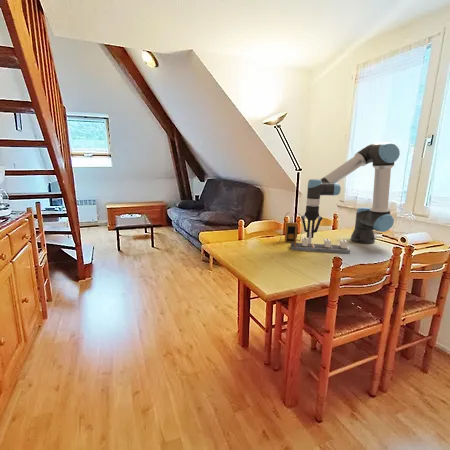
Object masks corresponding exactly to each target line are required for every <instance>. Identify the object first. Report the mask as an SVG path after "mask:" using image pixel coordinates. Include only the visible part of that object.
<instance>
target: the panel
mask: <svg viewBox="0 0 450 450" xmlns="http://www.w3.org/2000/svg"><path fill="white" fill-rule="evenodd" d="M290 248H291V251H298V252H299V251H300V252H317V253H334V254H351V249H350V248H349V247H348V246H347V249H346V248H341V247H340V244H331V246H330V248H329V247H325V246H324V243H323V244H322V243H311V244H309V243H308V246H302V242H290Z"/></svg>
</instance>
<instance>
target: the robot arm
mask: <svg viewBox="0 0 450 450" xmlns="http://www.w3.org/2000/svg"><path fill="white" fill-rule="evenodd" d="M400 152H401V150H400V147H399V146H398V145H397V144H396V143H394V142H390V141H389V142H388V141H386V142H374V143H370V144H369V145H367V146H365V147H363V148H362V149H360V150H358V151H357V152H356V153H354V155H353V156H352V157H351V158H350V159H348V160H347V161H345V162H344V163H342V164H341V165H340V166H338V167H337V168H335V169H334V170H332V171H331V172H330V173H328V174H326V175H324V177H322V178H320V179H318V178H317V179H315V178H312V179H311V178H310V179H309V180H308V183H307V192H306V193H307V194H306V205H305V213H304V214H303V215H301V216H300V218H302V219H301V222H302V228H303V231H304V233H306V238H307V239H308V243H309V244H312V239H313V238H314V234H315V233H317V232H318V231H319V230H318V229H319V228H320V227H319V226H320V225H321V221H322V220H323V217H322V216H320V210H319V209H320V201H321V196H333V197H335V196H338V195H339V194H340V193H341V189H342V188H341V184H340V183H339V182H340V181H341V180H343V179H344V178H346V177H348V176H349V175H350V174H351V173H353V172H354V171H356V170H357V169H359V168H361V167H365V166H367V165H368V164H371V163H372V167H373V168H374V180H373V194H372V207H358V208H356V209H357V210H356V212H355V214H356V215H355V223H354V230H353V231H352V233H351V235H350V240H351V241H352V242H355V243H360V244H374V243H375V242H376V236H375V233H374V231H376V232H380V233H385V232H387V231H390V229H392V228H393V226H394V223H395V219H394V217H393V215H391V209H390V208H389V201H390V200H389V199H390V198H389V197H390V187H391V174H392V173H391V172H392V168H393V167H395V162H397V160H398V159H399V158H400V156H401V155H400ZM305 219H307V225H306V220H305ZM316 221H317V222H316ZM315 223H316V225H315Z"/></svg>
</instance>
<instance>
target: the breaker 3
mask: <svg viewBox="0 0 450 450" xmlns="http://www.w3.org/2000/svg"><path fill="white" fill-rule="evenodd" d="M339 245H340V247H341V248H346V249H347V247H348V241H347V240H346V239H339Z"/></svg>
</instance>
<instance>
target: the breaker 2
mask: <svg viewBox="0 0 450 450" xmlns="http://www.w3.org/2000/svg"><path fill="white" fill-rule="evenodd" d="M323 244H324V246H325V247H329V248H330V246H331V245H332V241H331V239H330V238H324V239H323Z"/></svg>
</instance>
